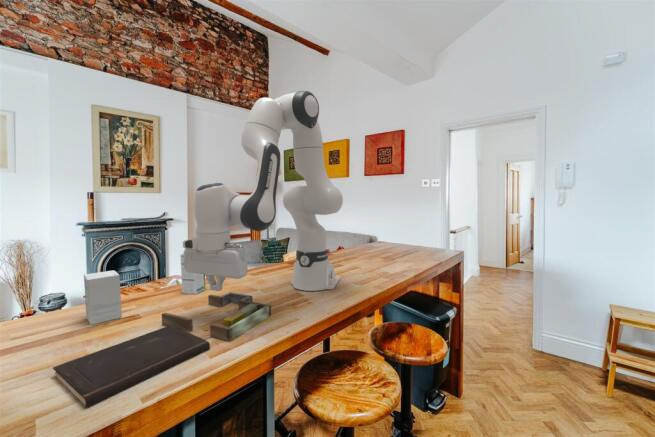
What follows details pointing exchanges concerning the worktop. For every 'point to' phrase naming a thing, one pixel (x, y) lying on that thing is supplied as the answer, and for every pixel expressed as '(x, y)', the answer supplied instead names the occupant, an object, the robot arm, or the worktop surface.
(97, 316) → the supplement box
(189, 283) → the syrup box
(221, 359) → the worktop surface
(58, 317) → the worktop surface
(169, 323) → the trap corral
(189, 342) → the hardcover book
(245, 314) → the medication box
